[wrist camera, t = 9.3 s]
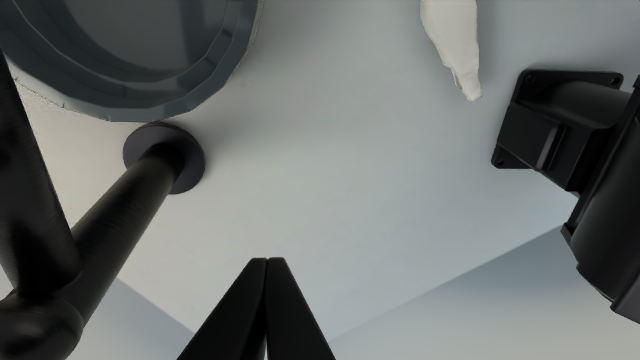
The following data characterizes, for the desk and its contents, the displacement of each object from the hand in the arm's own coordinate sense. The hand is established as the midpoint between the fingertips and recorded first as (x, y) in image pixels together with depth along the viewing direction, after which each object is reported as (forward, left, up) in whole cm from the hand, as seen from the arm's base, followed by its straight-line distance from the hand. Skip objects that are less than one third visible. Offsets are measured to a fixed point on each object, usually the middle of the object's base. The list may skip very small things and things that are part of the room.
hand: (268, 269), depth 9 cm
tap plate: (+7, +3, -13) cm, 15 cm away
